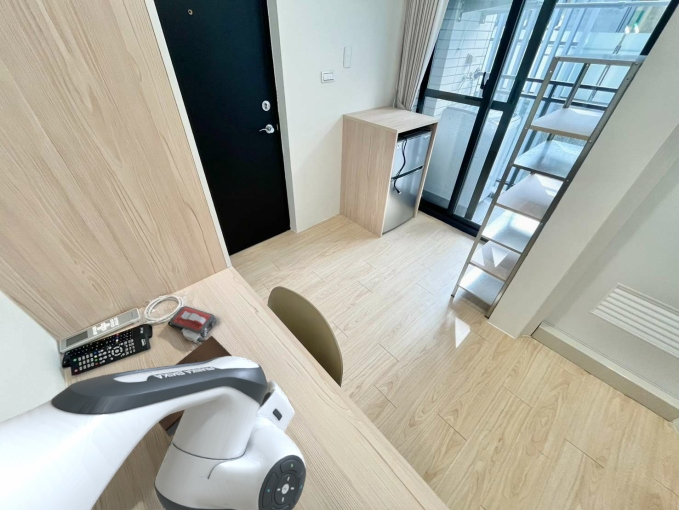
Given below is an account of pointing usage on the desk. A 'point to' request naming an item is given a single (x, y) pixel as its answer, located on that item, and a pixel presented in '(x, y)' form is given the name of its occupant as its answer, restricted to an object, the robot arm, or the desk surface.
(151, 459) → the desk surface
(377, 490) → the desk surface
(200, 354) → the cupboard
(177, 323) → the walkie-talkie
